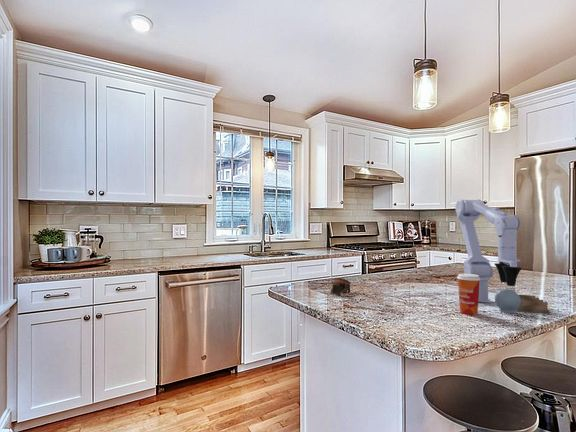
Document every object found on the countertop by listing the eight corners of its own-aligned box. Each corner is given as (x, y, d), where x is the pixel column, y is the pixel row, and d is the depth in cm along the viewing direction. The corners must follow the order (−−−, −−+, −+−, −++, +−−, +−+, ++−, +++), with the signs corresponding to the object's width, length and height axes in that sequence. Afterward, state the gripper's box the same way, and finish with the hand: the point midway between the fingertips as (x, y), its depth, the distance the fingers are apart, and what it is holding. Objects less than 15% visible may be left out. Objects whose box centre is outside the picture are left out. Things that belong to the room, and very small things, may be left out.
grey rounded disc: (495, 311, 124) (495, 289, 124) (494, 310, 125) (494, 288, 125) (520, 313, 121) (520, 290, 121) (519, 312, 123) (519, 289, 123)
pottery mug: (325, 293, 156) (329, 277, 160) (341, 301, 159) (345, 285, 162) (339, 292, 146) (343, 274, 149) (356, 300, 148) (360, 283, 152)
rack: (517, 311, 124) (517, 300, 125) (507, 303, 136) (507, 293, 136) (549, 313, 121) (549, 302, 121) (536, 305, 132) (536, 295, 132)
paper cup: (452, 311, 124) (452, 274, 124) (467, 309, 127) (467, 272, 127) (470, 317, 117) (470, 277, 117) (486, 314, 119) (485, 276, 120)
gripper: (527, 249, 115) (527, 288, 115) (512, 246, 129) (513, 281, 129) (503, 248, 118) (504, 287, 117) (492, 245, 131) (492, 280, 131)
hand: (507, 284), depth 123 cm, fingers open, 7 cm apart
